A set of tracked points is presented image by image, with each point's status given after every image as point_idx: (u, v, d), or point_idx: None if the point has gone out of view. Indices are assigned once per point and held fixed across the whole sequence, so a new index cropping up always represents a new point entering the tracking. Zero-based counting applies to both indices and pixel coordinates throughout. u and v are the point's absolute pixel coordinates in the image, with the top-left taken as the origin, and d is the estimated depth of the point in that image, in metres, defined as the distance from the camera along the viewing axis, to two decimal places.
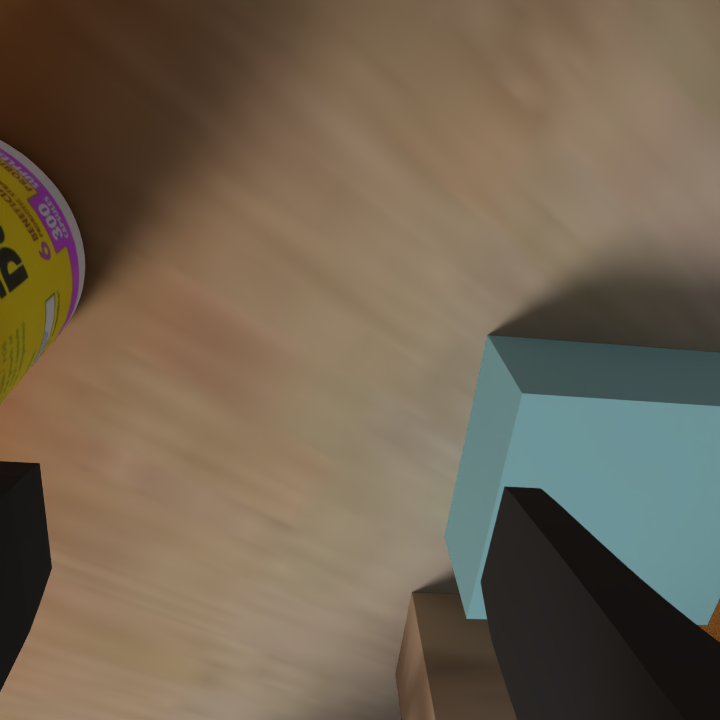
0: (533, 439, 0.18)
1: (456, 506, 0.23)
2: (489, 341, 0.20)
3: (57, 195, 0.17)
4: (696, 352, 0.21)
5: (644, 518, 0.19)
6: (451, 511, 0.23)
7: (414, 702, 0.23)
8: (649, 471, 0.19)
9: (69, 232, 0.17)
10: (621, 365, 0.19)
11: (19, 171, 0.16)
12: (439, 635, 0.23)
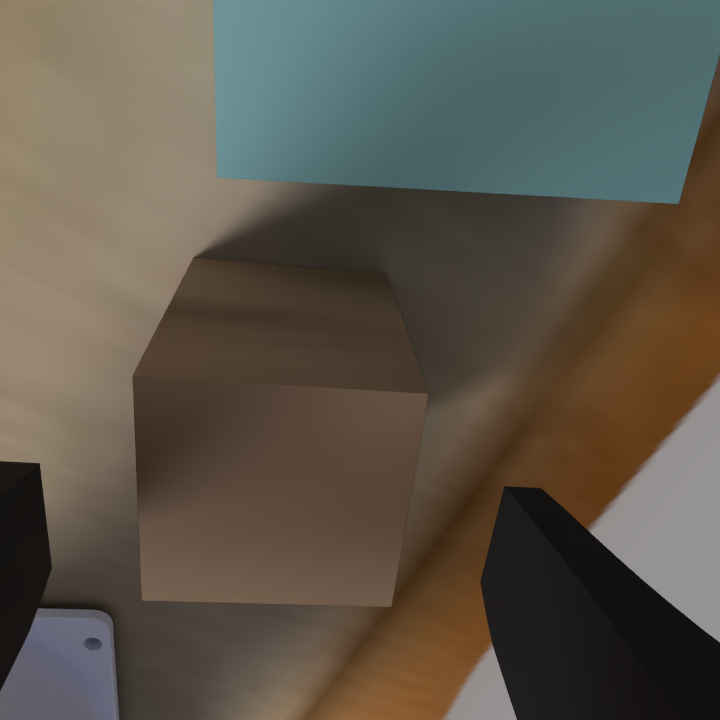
0: None
1: None
2: None
3: None
4: None
5: None
6: None
7: None
8: None
9: None
10: None
11: None
12: (214, 288, 0.14)
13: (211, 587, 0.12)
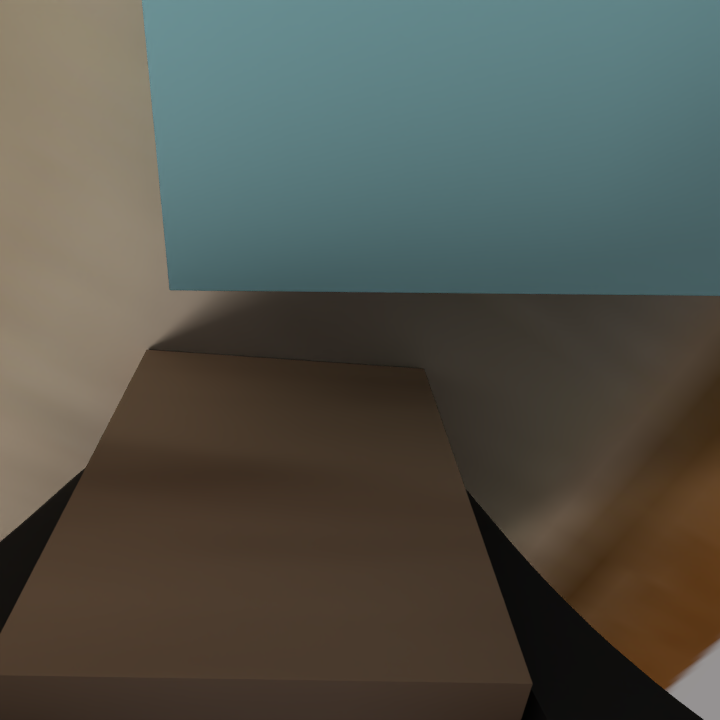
0: None
1: None
2: None
3: None
4: None
5: None
6: None
7: None
8: None
9: None
10: None
11: None
12: (168, 416, 0.09)
13: None
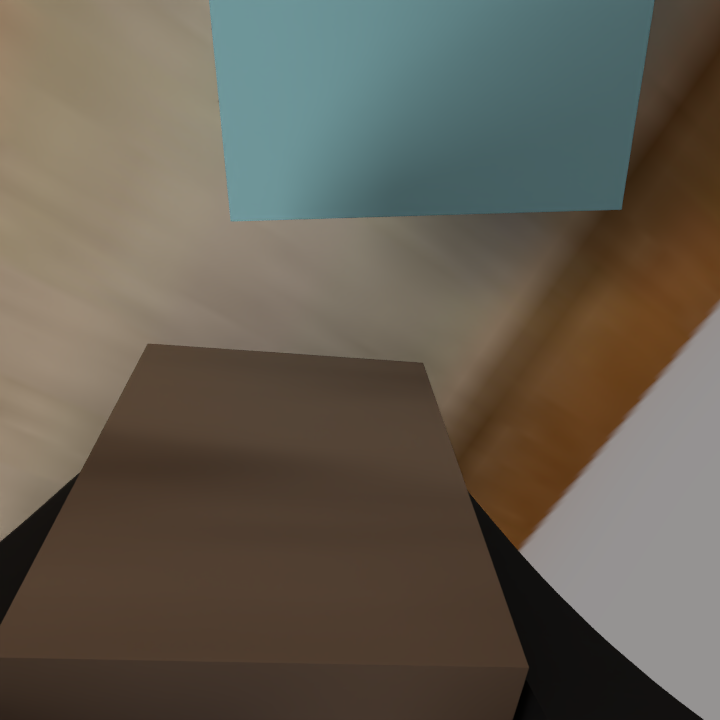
0: None
1: None
2: None
3: None
4: None
5: None
6: None
7: None
8: None
9: None
10: None
11: None
12: (169, 409, 0.09)
13: None
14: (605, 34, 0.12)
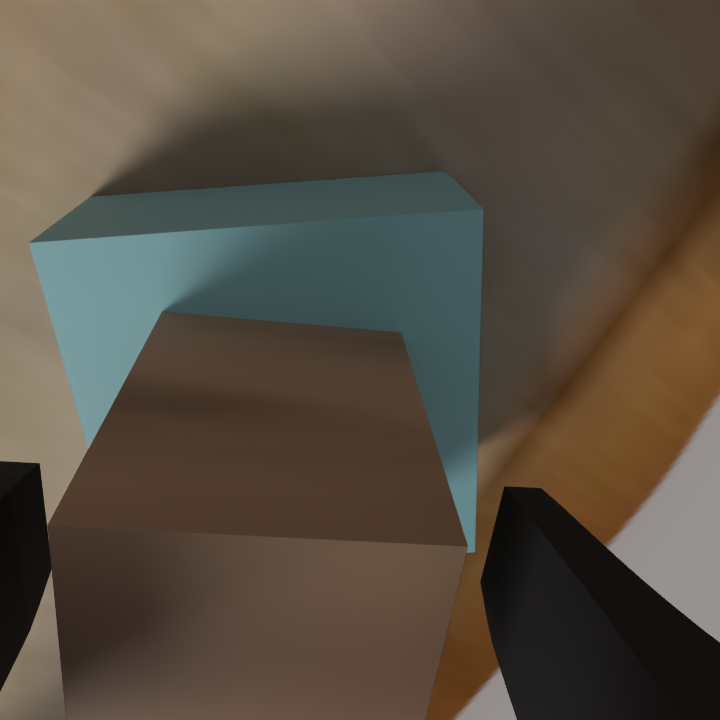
0: (83, 313, 0.12)
1: None
2: (87, 202, 0.15)
3: None
4: (394, 175, 0.15)
5: None
6: None
7: None
8: None
9: None
10: (249, 199, 0.14)
11: None
12: (182, 361, 0.11)
13: None
14: (438, 436, 0.14)
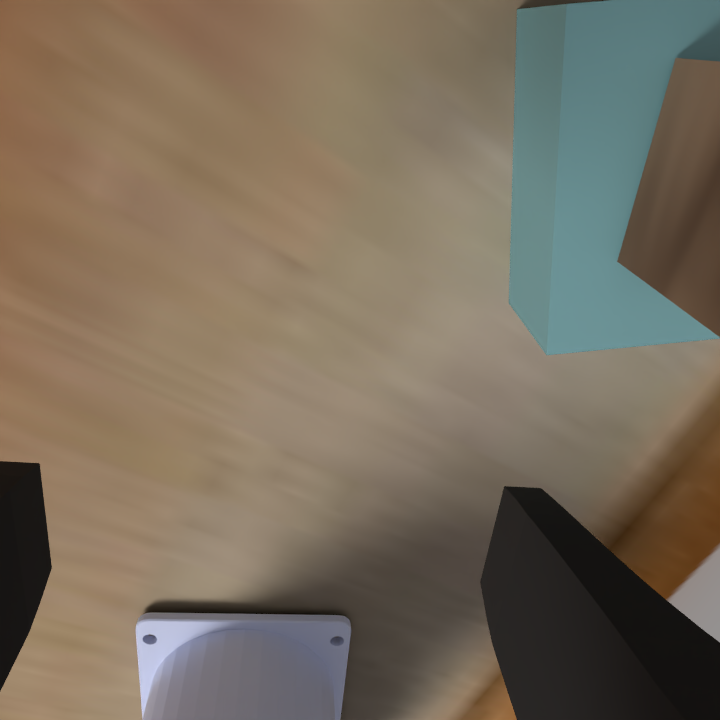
0: (590, 74, 0.14)
1: (514, 250, 0.19)
2: (520, 11, 0.17)
3: None
4: None
5: None
6: (510, 263, 0.20)
7: None
8: None
9: None
10: None
11: None
12: None
13: None
14: None
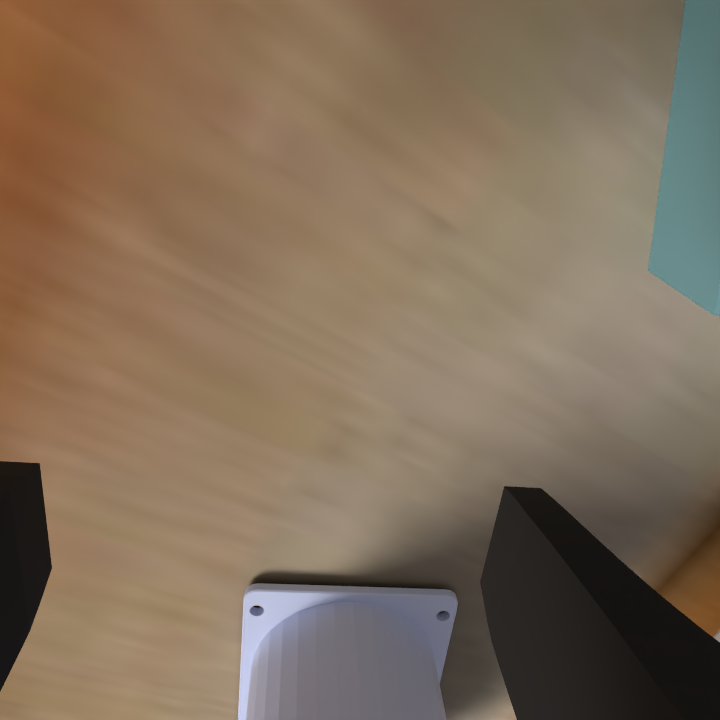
0: None
1: (664, 215, 0.19)
2: None
3: None
4: None
5: None
6: (655, 230, 0.20)
7: None
8: None
9: None
10: None
11: None
12: None
13: None
14: None
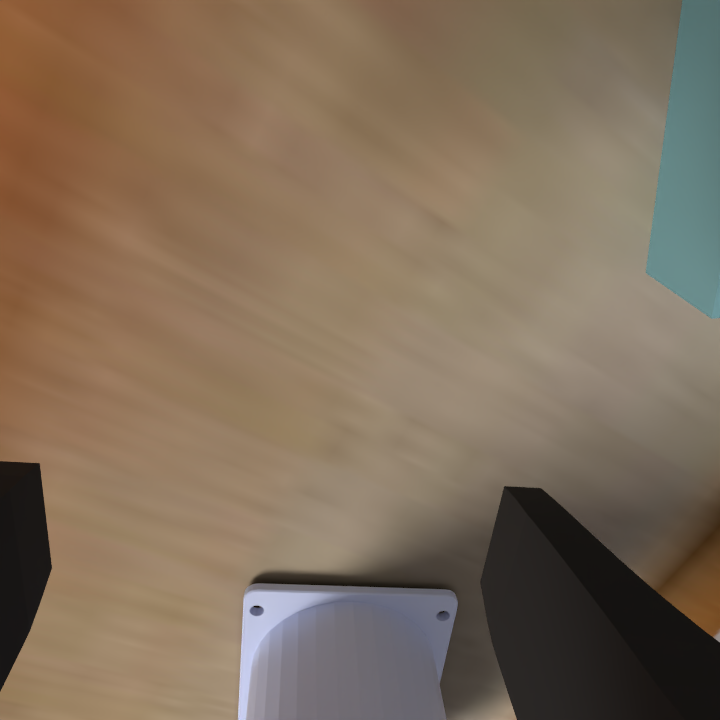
0: None
1: (662, 218, 0.19)
2: None
3: None
4: None
5: None
6: (653, 232, 0.20)
7: None
8: None
9: None
10: None
11: None
12: None
13: None
14: None
